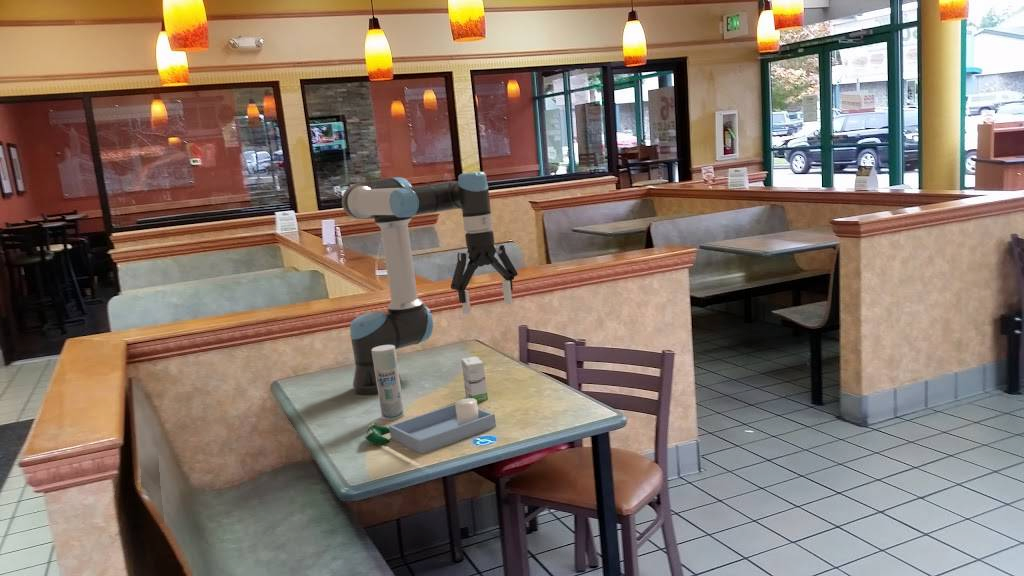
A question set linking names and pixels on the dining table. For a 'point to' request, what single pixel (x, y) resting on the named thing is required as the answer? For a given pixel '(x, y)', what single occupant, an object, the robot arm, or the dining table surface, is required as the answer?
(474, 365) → the ink box
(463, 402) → the white smooth rounded part
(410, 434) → the tote
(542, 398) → the dining table surface
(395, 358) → the spray can
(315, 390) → the dining table surface
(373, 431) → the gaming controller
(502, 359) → the dining table surface
